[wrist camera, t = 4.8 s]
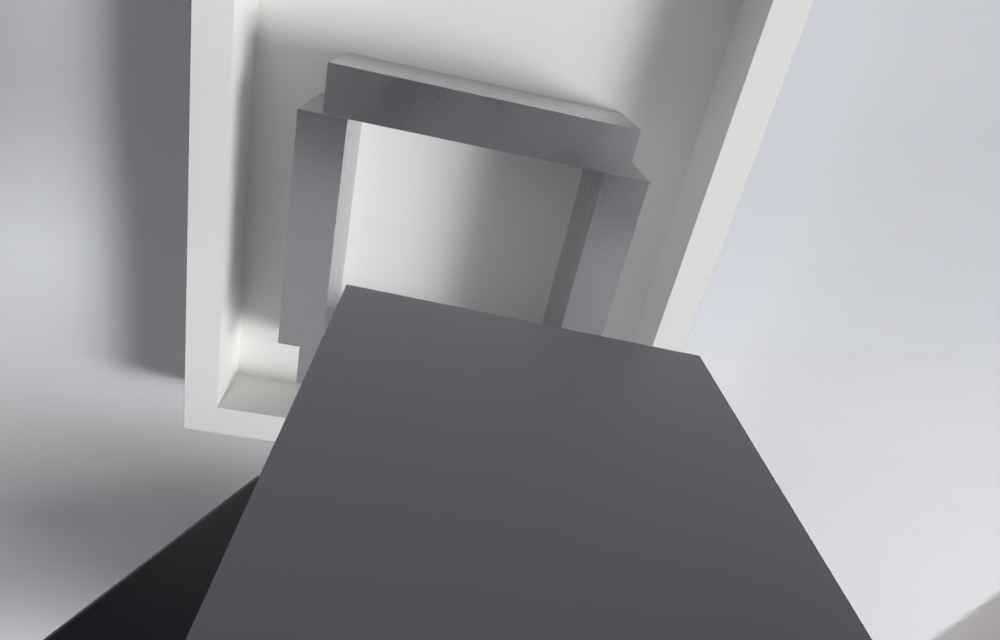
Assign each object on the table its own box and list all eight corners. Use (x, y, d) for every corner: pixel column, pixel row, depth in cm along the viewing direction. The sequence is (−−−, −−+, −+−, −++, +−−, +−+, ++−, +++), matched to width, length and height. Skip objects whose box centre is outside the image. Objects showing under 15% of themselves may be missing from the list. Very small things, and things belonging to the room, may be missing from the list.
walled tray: (616, 451, 21) (629, 495, 19) (210, 387, 19) (183, 427, 18) (796, -63, 15) (839, -69, 13) (233, -209, 14) (195, -239, 12)
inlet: (562, 380, 19) (573, 427, 17) (297, 335, 18) (274, 379, 16) (640, 116, 16) (664, 135, 14) (325, 47, 15) (301, 56, 13)
